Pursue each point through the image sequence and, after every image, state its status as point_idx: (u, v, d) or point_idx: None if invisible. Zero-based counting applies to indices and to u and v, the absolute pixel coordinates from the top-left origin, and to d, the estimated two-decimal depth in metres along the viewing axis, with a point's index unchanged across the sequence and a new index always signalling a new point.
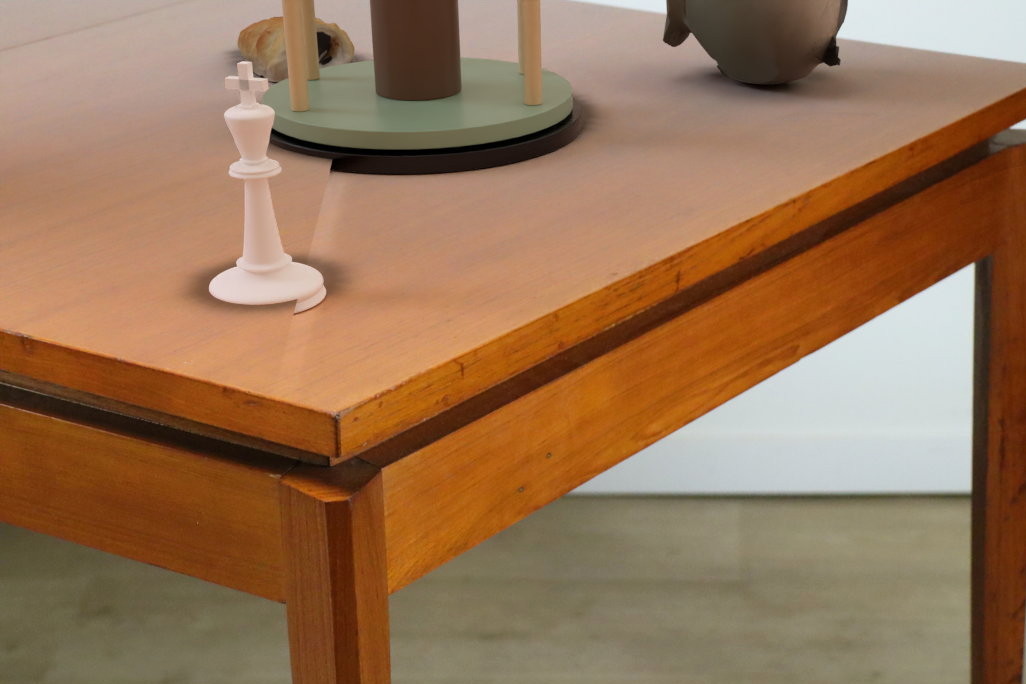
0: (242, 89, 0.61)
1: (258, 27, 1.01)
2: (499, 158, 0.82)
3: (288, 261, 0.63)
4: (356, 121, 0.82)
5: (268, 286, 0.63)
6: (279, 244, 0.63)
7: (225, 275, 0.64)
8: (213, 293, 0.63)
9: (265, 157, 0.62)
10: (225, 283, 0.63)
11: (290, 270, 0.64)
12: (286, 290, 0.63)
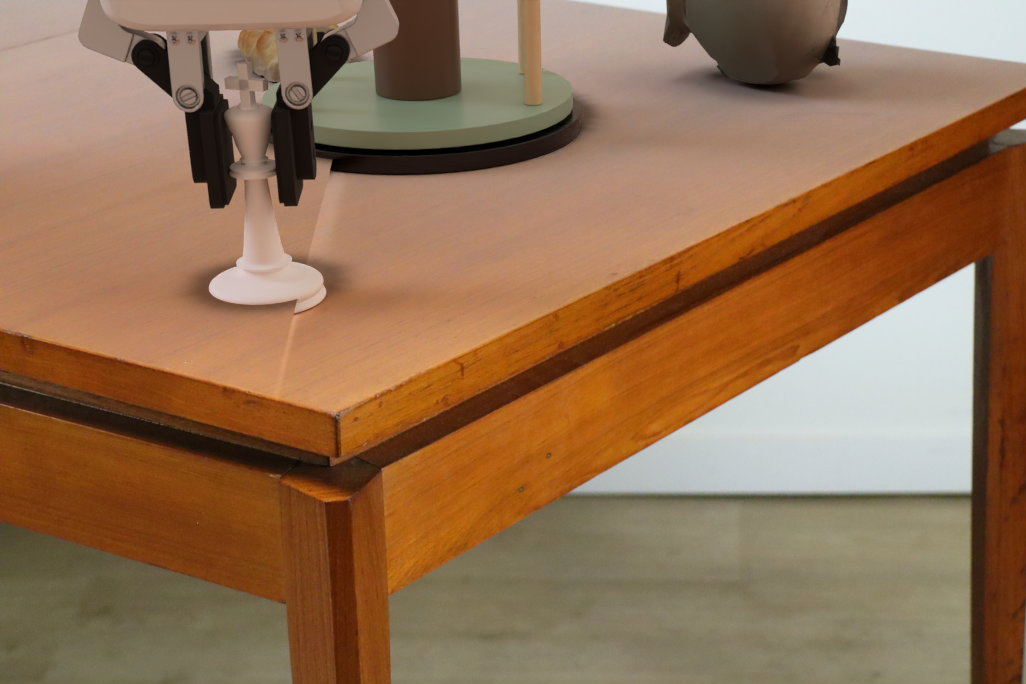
0: (242, 89, 0.61)
1: None
2: (499, 158, 0.82)
3: (288, 261, 0.63)
4: (356, 121, 0.82)
5: (268, 286, 0.63)
6: (279, 244, 0.63)
7: (225, 275, 0.64)
8: (213, 293, 0.63)
9: (265, 157, 0.62)
10: (225, 283, 0.63)
11: (290, 270, 0.64)
12: (286, 290, 0.63)
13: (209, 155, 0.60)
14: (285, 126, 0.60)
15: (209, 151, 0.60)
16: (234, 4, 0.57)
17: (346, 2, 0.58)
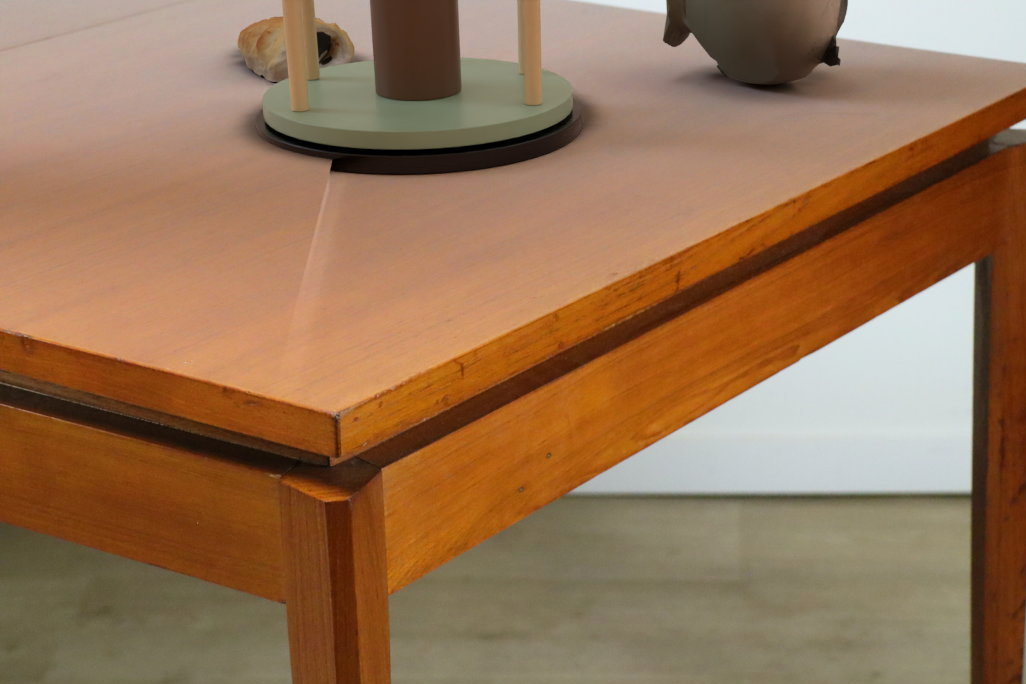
0: None
1: (259, 27, 1.01)
2: (499, 158, 0.82)
3: None
4: (356, 121, 0.82)
5: None
6: None
7: None
8: None
9: None
10: None
11: None
12: None
13: None
14: None
15: None
16: None
17: None
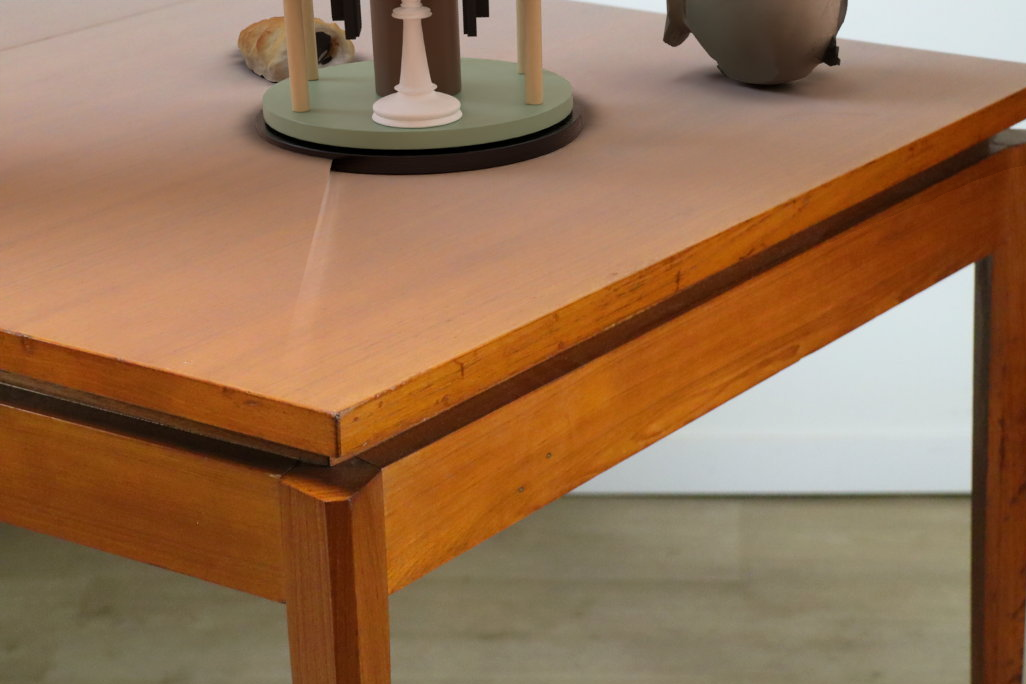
0: None
1: (259, 27, 1.01)
2: (499, 158, 0.82)
3: (435, 87, 0.82)
4: (358, 121, 0.82)
5: (421, 104, 0.81)
6: (428, 73, 0.82)
7: (385, 98, 0.82)
8: (378, 110, 0.81)
9: (420, 3, 0.80)
10: (387, 103, 0.82)
11: (435, 94, 0.82)
12: (435, 107, 0.81)
13: None
14: None
15: None
16: None
17: None
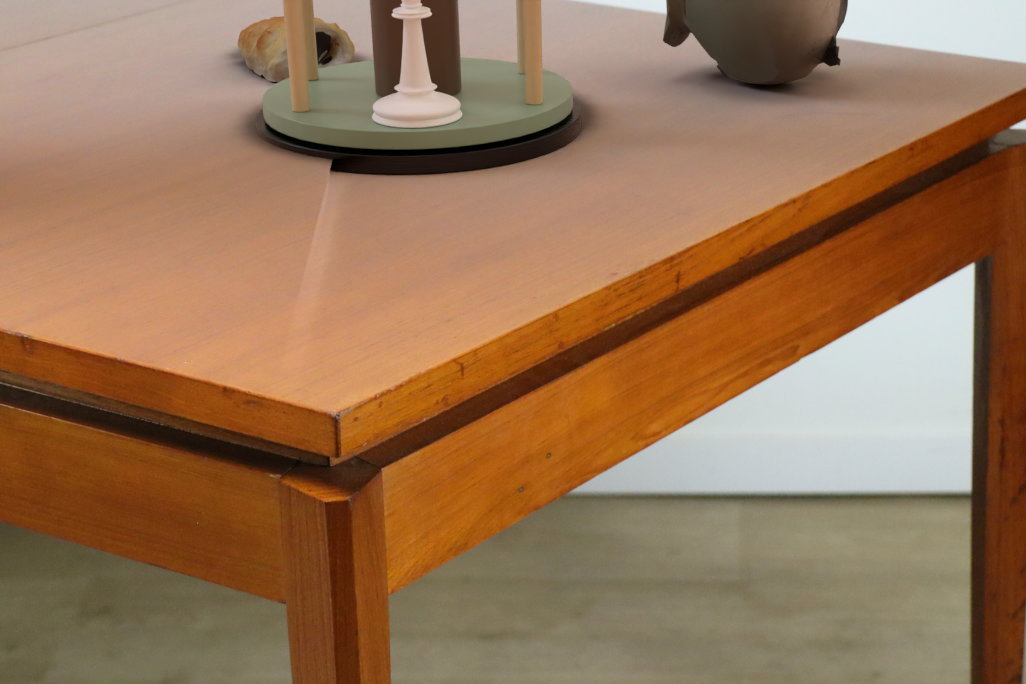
0: None
1: (259, 27, 1.01)
2: (499, 158, 0.82)
3: (434, 87, 0.82)
4: (358, 121, 0.82)
5: (421, 104, 0.81)
6: (428, 73, 0.82)
7: (385, 98, 0.82)
8: (378, 110, 0.81)
9: (420, 3, 0.80)
10: (387, 103, 0.82)
11: (435, 94, 0.82)
12: (435, 107, 0.81)
13: None
14: None
15: None
16: None
17: None
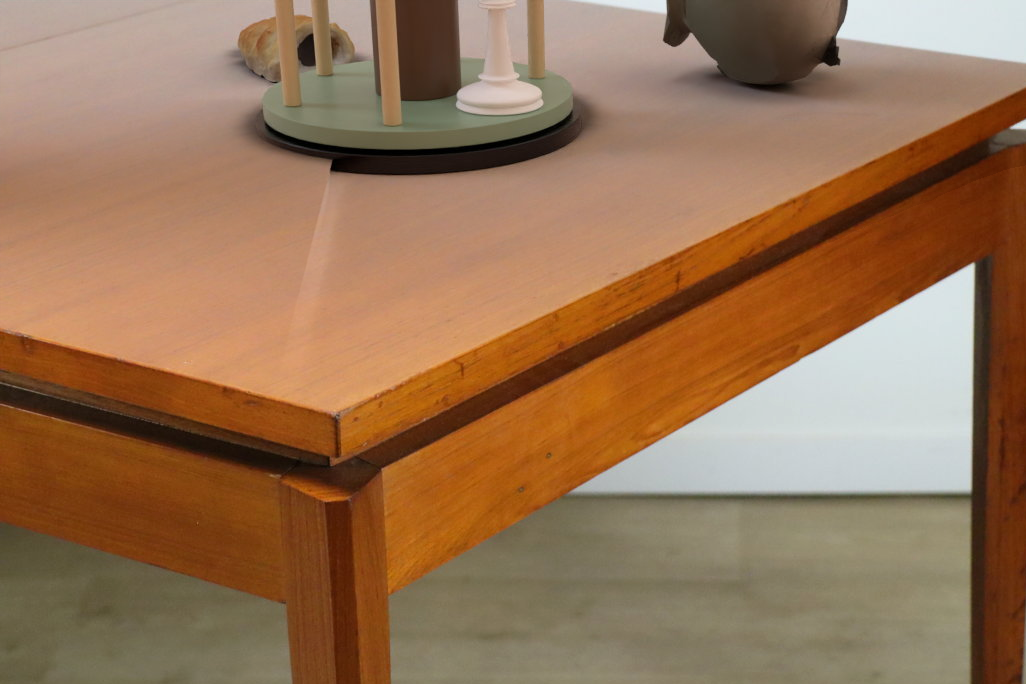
0: None
1: (259, 27, 1.01)
2: (499, 158, 0.82)
3: (514, 72, 0.85)
4: (472, 118, 0.82)
5: (524, 88, 0.84)
6: None
7: (480, 92, 0.83)
8: (492, 103, 0.83)
9: None
10: (493, 94, 0.83)
11: None
12: (534, 88, 0.85)
13: None
14: None
15: None
16: None
17: None
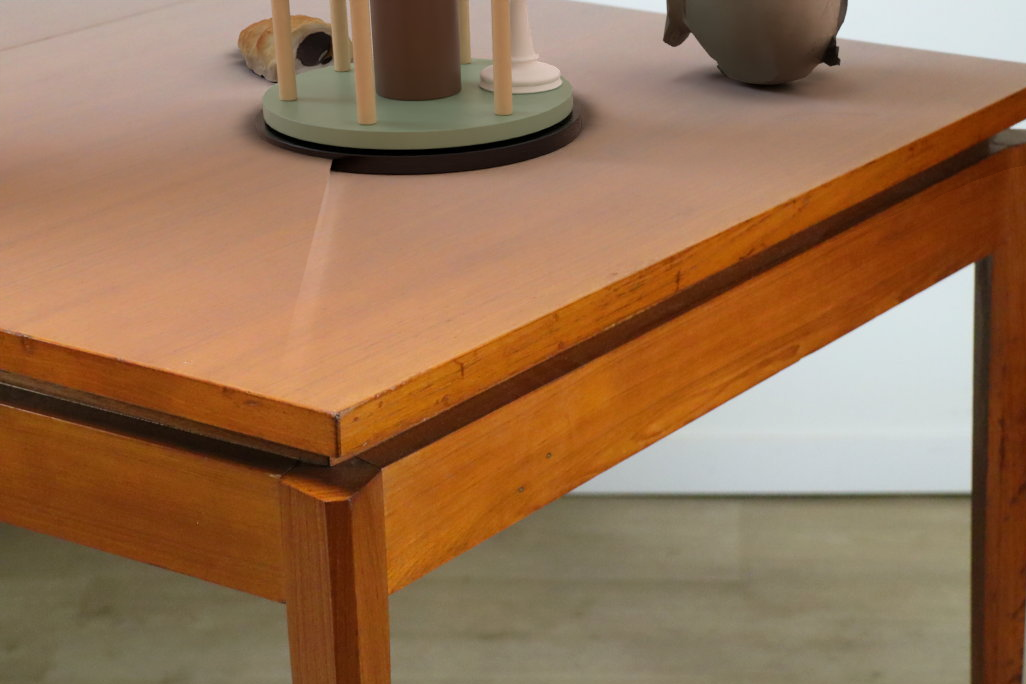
0: None
1: (259, 27, 1.01)
2: (499, 158, 0.82)
3: None
4: (541, 96, 0.87)
5: (544, 63, 0.90)
6: None
7: (525, 72, 0.88)
8: (546, 79, 0.88)
9: None
10: (539, 71, 0.88)
11: None
12: (544, 63, 0.90)
13: None
14: None
15: None
16: None
17: None
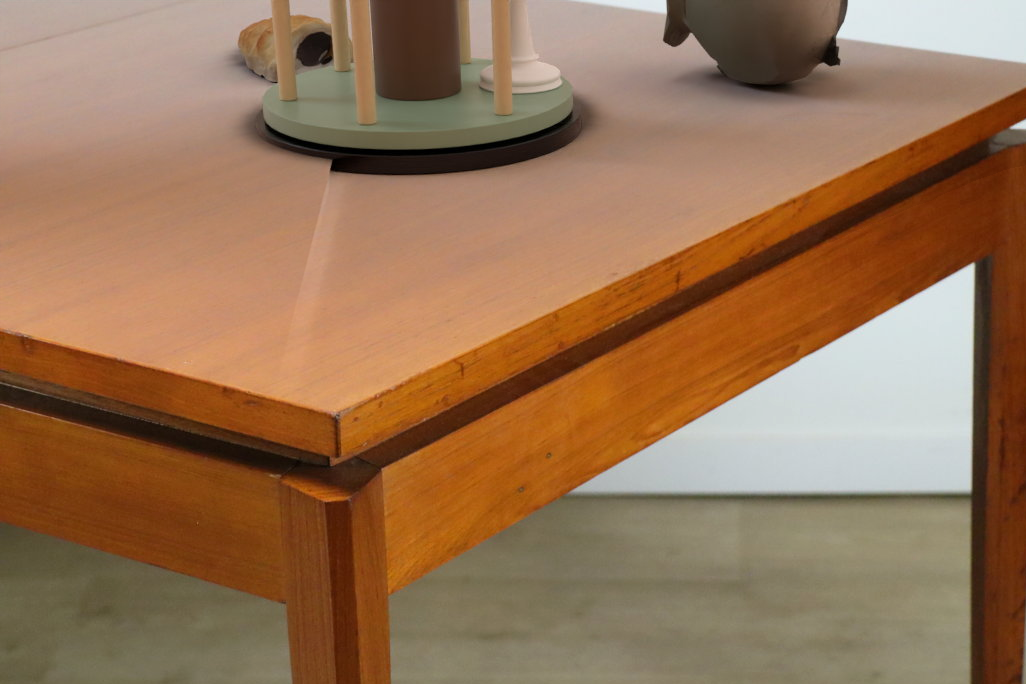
0: None
1: (259, 27, 1.01)
2: (499, 158, 0.82)
3: None
4: (541, 96, 0.87)
5: (544, 63, 0.90)
6: None
7: (525, 72, 0.88)
8: (546, 79, 0.88)
9: None
10: (539, 71, 0.88)
11: None
12: (544, 63, 0.90)
13: None
14: None
15: None
16: None
17: None
